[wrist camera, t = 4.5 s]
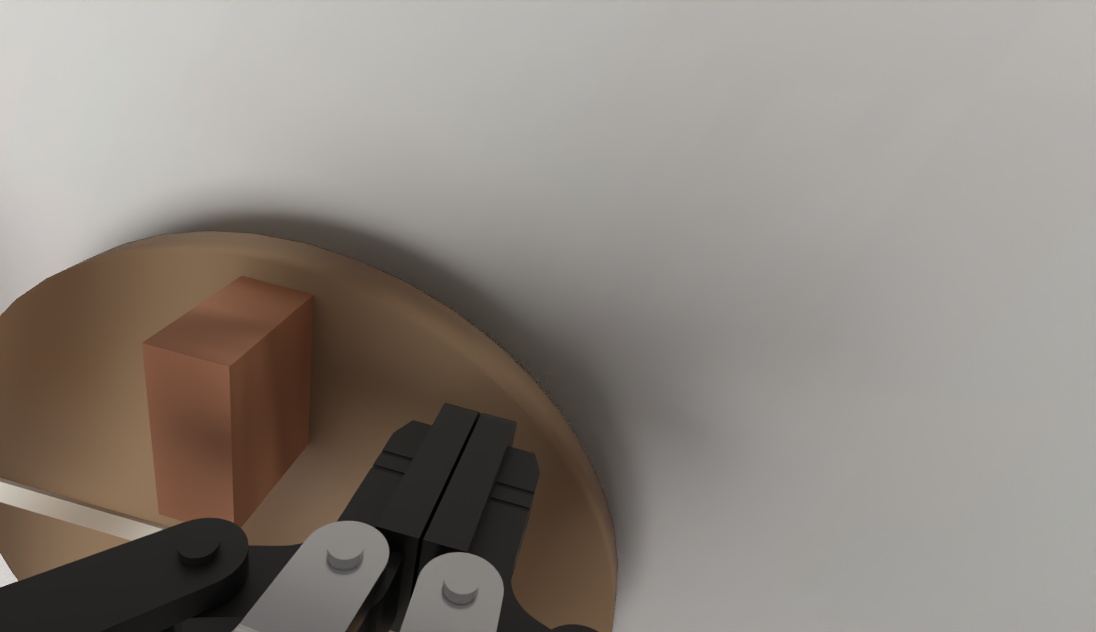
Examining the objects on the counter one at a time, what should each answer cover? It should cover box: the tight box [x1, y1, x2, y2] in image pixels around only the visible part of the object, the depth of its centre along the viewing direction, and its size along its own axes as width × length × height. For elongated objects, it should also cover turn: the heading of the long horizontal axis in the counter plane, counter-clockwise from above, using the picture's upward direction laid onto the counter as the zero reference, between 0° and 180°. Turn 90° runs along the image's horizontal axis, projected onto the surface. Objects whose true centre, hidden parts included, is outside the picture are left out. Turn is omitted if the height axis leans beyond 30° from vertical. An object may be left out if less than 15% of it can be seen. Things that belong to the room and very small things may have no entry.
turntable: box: [0, 231, 618, 632], centre depth 17 cm, size 18×18×4 cm
